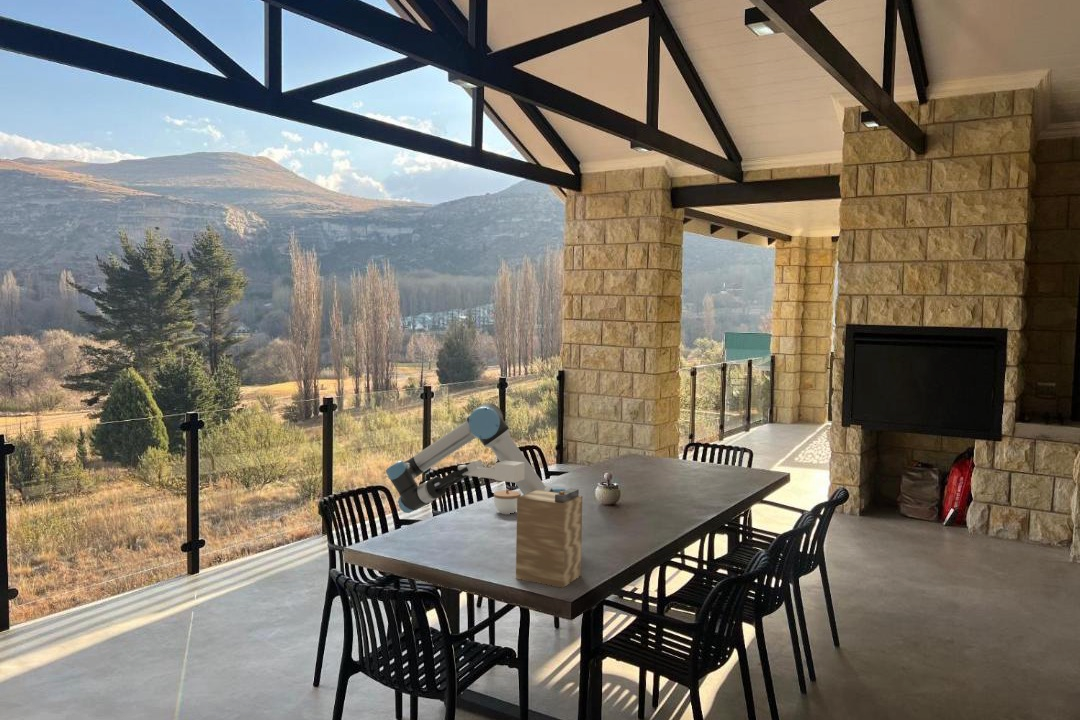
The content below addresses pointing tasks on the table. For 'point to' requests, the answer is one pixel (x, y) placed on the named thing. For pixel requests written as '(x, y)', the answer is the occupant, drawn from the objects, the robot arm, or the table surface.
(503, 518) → the table surface
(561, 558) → the cabinet
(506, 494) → the lidded bowl
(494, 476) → the white long stepped block
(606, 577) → the table surface
